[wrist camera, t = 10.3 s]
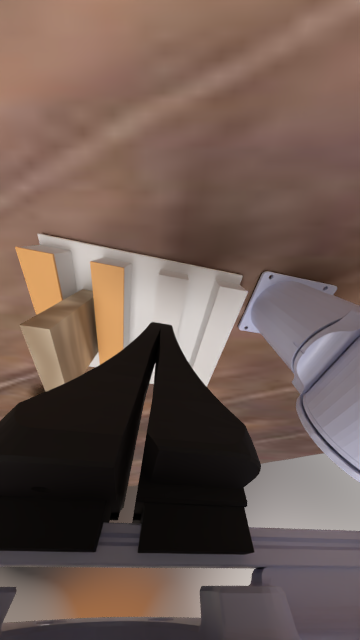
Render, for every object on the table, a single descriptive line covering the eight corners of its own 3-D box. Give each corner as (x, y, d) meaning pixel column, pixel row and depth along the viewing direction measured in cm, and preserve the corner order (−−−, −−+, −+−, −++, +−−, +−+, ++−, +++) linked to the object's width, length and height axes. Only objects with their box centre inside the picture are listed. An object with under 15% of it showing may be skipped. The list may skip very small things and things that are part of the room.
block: (99, 292, 18) (49, 329, 11) (103, 344, 22) (68, 396, 15) (82, 289, 18) (19, 324, 11) (89, 342, 22) (46, 393, 15)
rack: (241, 274, 18) (253, 282, 15) (201, 377, 26) (203, 395, 23) (42, 233, 15) (10, 233, 12) (70, 360, 24) (56, 377, 21)
